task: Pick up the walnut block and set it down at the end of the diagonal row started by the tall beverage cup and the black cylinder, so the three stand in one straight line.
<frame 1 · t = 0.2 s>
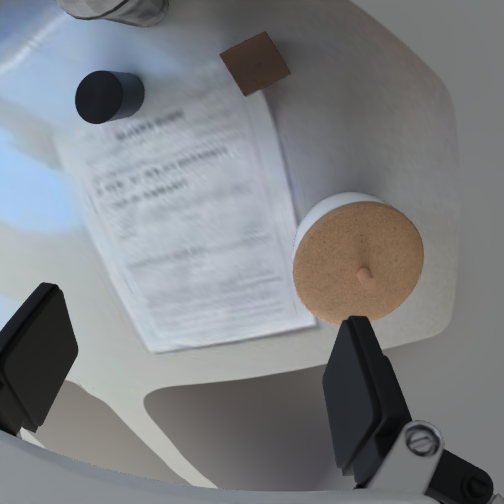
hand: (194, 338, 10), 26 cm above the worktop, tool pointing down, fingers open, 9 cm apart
walnut block: (255, 67, 28), on the worktop
beverage cup: (148, 8, 25), on the worktop
lidded bowl: (340, 230, 36), on the worktop
black cylinder: (122, 95, 29), on the worktop
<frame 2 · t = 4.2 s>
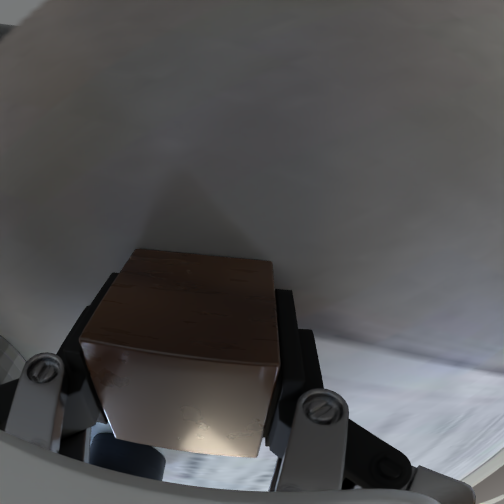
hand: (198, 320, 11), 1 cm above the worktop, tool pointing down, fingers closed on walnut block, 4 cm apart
walnut block: (201, 310, 11), on the worktop, touching gripper
beverage cup: (3, 356, 14), on the worktop
black cylinder: (128, 452, 17), on the worktop
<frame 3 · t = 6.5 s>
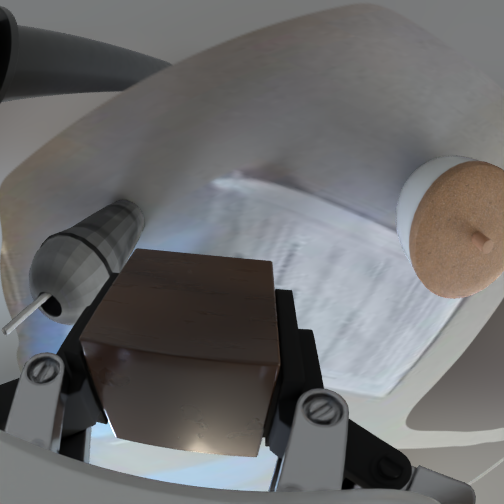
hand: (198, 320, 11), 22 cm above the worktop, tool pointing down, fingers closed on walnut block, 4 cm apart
walnut block: (201, 309, 11), point 21 cm above the worktop, touching gripper
beverage cup: (125, 219, 33), on the worktop
lidded bowl: (430, 201, 31), on the worktop
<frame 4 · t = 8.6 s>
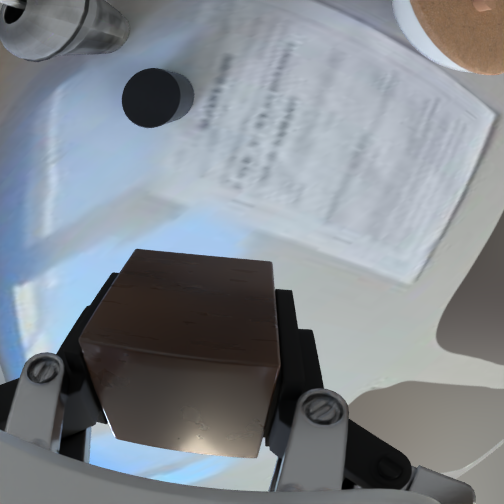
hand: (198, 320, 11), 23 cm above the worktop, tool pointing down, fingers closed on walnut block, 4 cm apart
walnut block: (200, 310, 11), point 23 cm above the worktop, touching gripper
beverage cup: (110, 33, 25), on the worktop
lidded bowl: (427, 19, 23), on the worktop
black cylinder: (168, 96, 28), on the worktop
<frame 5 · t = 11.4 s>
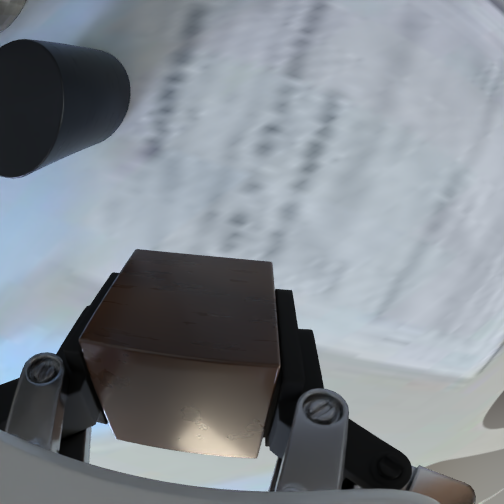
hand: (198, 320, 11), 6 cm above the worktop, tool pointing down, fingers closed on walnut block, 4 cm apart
walnut block: (200, 310, 11), point 6 cm above the worktop, touching gripper
beverage cup: (4, 1, 10), on the worktop
black cylinder: (85, 97, 13), on the worktop
when the fingers open (1 cm above the worktop, at t = 13.0 s): walnut block stays where it is, on the worktop.
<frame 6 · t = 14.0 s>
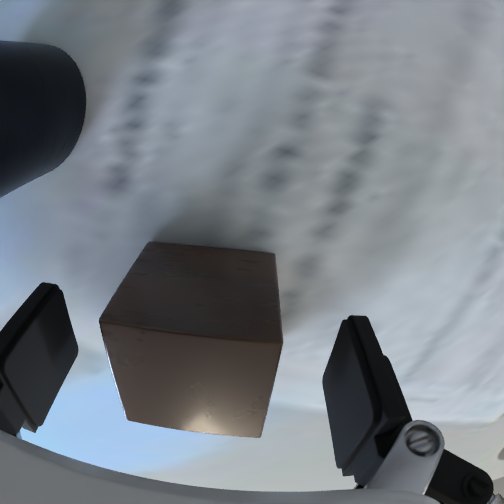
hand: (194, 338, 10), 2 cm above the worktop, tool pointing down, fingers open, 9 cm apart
walnut block: (208, 299, 12), on the worktop
black cylinder: (31, 110, 9), on the worktop
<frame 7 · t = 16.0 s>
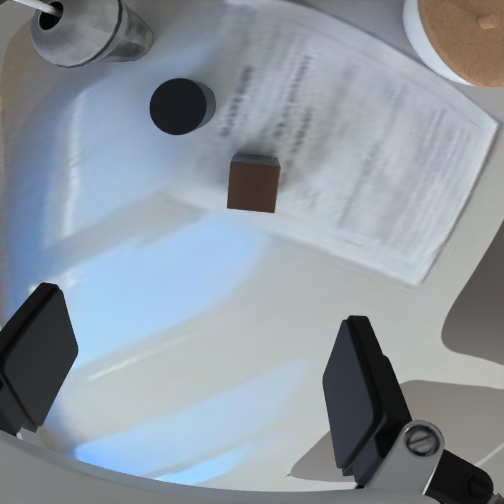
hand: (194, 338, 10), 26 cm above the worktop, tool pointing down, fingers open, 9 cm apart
walnut block: (254, 176, 33), on the worktop
beverage cup: (133, 41, 27), on the worktop
lidded bowl: (434, 33, 25), on the worktop
black cylinder: (191, 105, 30), on the worktop
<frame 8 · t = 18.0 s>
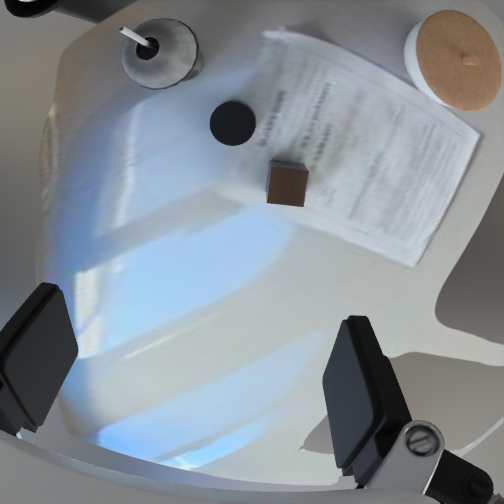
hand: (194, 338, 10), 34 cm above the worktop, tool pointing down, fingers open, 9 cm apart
walnut block: (284, 178, 42), on the worktop
beverage cup: (185, 63, 35), on the worktop
lidded bowl: (428, 62, 34), on the worktop
black cylinder: (235, 119, 39), on the worktop
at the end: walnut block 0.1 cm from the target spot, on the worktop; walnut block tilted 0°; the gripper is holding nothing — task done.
